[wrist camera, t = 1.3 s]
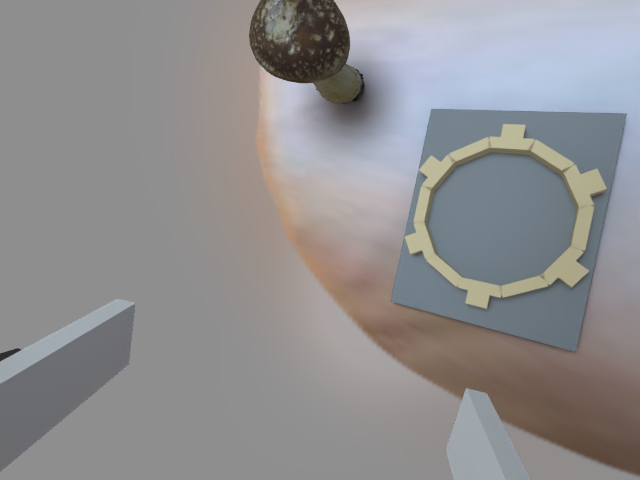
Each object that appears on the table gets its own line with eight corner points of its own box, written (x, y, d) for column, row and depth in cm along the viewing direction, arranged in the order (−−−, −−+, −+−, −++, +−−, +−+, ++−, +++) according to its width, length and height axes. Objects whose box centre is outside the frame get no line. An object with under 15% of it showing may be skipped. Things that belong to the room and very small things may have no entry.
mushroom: (311, 76, 47) (230, -4, 34) (375, 41, 44) (313, -63, 30) (327, 145, 45) (249, 88, 32) (396, 114, 42) (340, 36, 28)
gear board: (433, 113, 40) (428, 102, 37) (623, 119, 32) (631, 106, 30) (393, 300, 40) (386, 302, 37) (573, 349, 32) (578, 355, 30)
